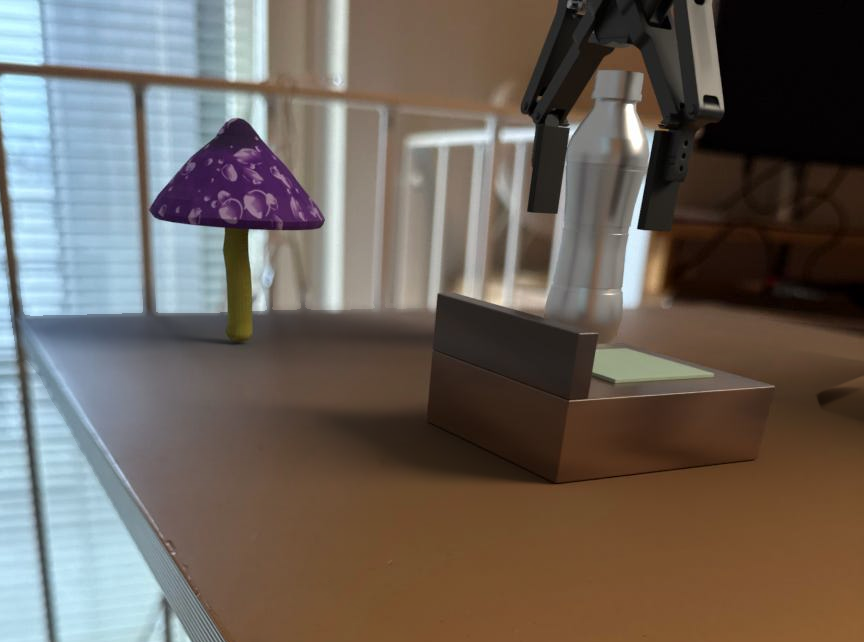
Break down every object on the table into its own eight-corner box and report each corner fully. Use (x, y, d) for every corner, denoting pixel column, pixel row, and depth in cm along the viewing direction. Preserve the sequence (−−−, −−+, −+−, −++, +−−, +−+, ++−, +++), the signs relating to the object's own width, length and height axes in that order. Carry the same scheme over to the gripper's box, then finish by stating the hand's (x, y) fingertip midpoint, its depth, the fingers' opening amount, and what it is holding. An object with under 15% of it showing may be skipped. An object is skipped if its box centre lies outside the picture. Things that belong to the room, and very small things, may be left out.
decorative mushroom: (245, 323, 80) (245, 120, 74) (355, 348, 73) (366, 127, 67) (119, 336, 72) (106, 107, 65) (231, 366, 65) (229, 114, 58)
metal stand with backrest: (611, 406, 62) (631, 292, 58) (757, 459, 52) (790, 327, 49) (425, 421, 55) (436, 292, 52) (555, 484, 46) (578, 333, 43)
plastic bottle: (533, 348, 79) (571, 65, 70) (545, 336, 85) (582, 74, 75) (612, 358, 77) (661, 70, 68) (619, 345, 83) (665, 78, 74)
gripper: (500, -94, 75) (468, 204, 84) (749, -157, 56) (671, 237, 65) (575, -77, 78) (537, 208, 88) (833, -131, 59) (747, 240, 69)
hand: (594, 221), depth 77 cm, fingers open, 13 cm apart
